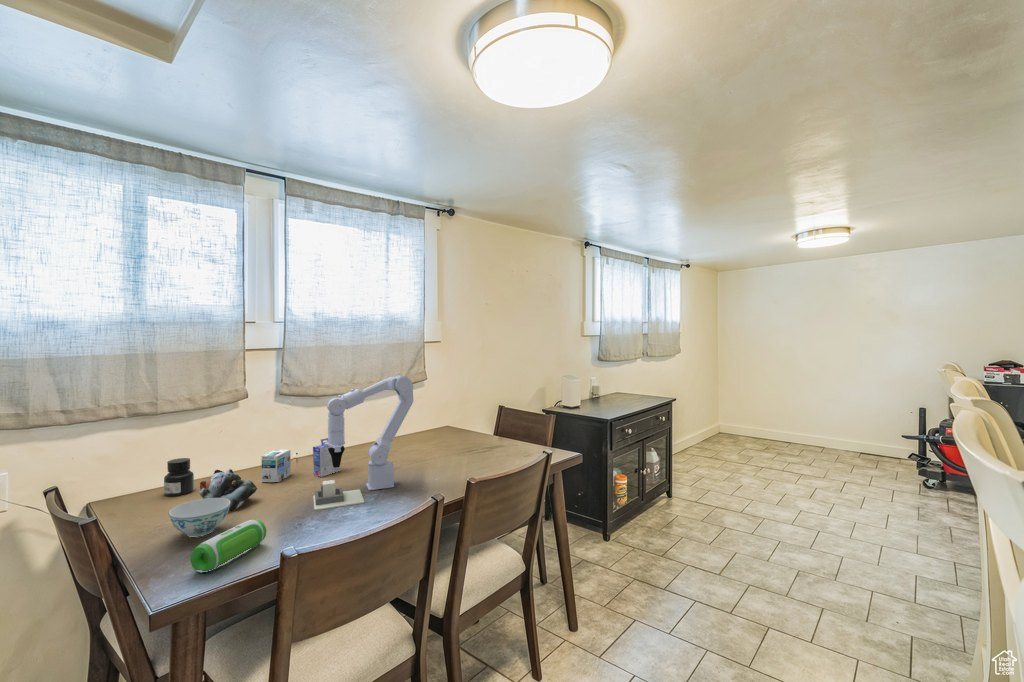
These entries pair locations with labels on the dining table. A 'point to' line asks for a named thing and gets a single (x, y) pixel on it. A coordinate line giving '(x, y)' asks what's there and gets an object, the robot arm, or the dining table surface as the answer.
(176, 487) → the ink bottle
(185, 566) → the dining table surface
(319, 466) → the ink cartridge box
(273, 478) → the light bulb box
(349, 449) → the dining table surface
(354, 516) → the dining table surface
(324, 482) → the plug
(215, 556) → the speaker
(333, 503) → the socket board
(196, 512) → the chinaware
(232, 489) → the grey animal figurine
